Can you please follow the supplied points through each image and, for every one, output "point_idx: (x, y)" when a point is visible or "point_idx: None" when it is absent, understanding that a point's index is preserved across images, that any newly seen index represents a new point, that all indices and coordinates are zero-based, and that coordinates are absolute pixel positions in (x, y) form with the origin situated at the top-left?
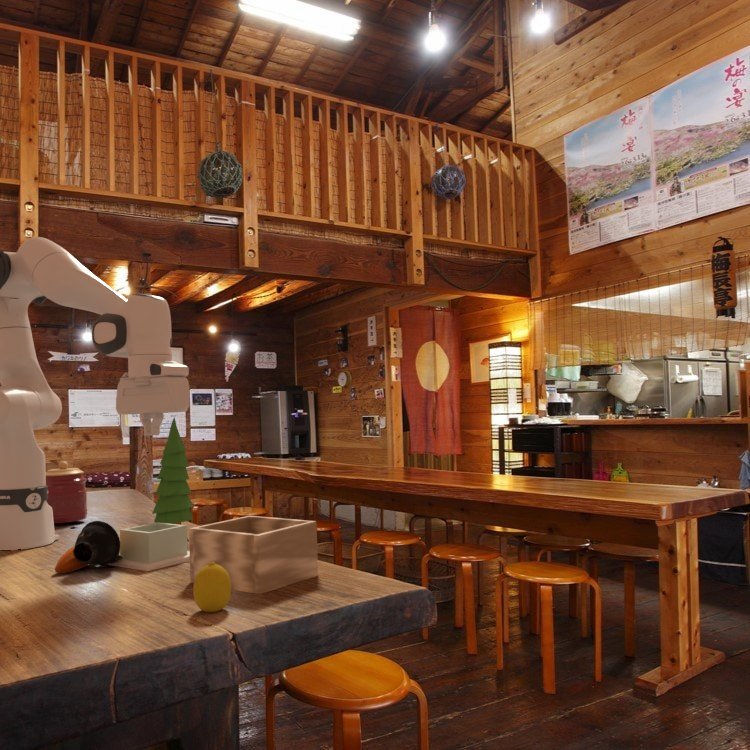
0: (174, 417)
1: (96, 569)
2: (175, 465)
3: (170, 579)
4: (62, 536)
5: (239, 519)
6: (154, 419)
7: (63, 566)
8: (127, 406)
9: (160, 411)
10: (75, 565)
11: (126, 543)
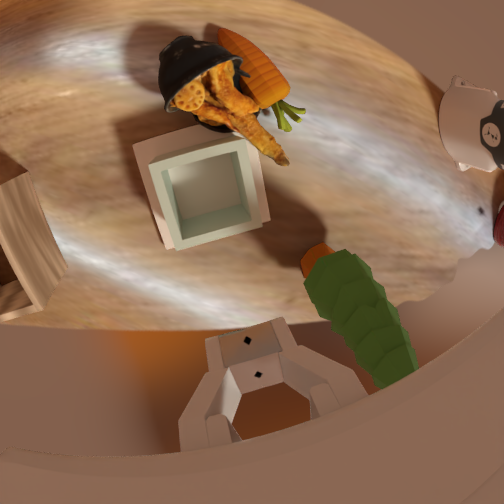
0: None
1: None
2: (362, 344)
3: (70, 158)
4: (462, 178)
5: (22, 285)
6: (185, 415)
7: (219, 37)
8: (494, 371)
9: (84, 460)
10: None
11: (219, 141)
